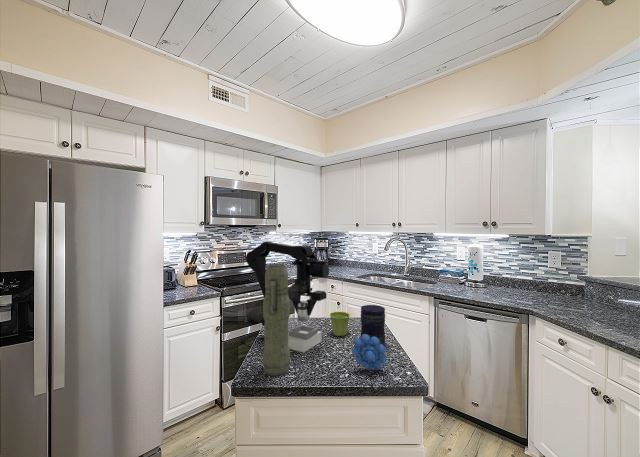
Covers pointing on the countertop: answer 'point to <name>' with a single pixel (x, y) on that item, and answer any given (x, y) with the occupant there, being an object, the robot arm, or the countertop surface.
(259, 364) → the countertop surface
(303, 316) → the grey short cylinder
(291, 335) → the grey open box
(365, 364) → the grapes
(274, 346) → the thermos
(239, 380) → the countertop surface
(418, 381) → the countertop surface
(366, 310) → the storage jar
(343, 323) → the plant pot
